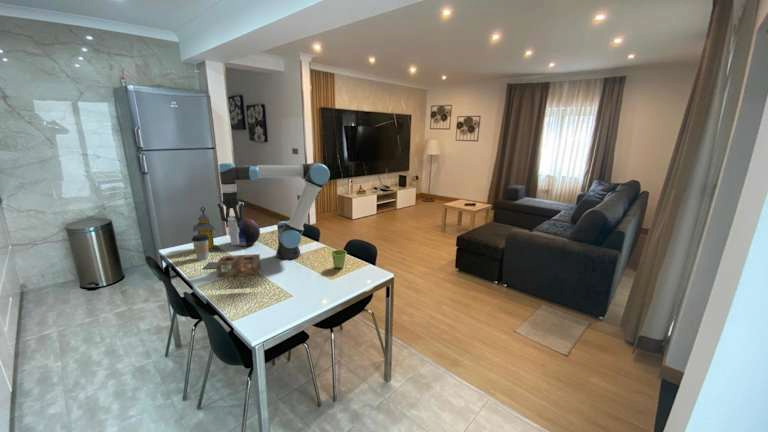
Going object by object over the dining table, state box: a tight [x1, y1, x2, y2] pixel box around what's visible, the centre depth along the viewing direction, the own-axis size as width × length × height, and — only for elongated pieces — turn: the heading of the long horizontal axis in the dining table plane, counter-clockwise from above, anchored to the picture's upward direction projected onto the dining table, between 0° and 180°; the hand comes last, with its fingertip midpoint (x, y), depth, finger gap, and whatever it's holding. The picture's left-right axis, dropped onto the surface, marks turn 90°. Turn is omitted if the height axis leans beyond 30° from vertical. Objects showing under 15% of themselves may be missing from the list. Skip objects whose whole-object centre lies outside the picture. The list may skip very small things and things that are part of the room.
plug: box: [228, 215, 239, 246], centre depth 172 cm, size 4×4×16 cm
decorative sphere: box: [228, 217, 261, 247], centre depth 216 cm, size 19×20×20 cm
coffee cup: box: [191, 234, 209, 262], centre depth 190 cm, size 9×9×15 cm
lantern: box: [192, 206, 220, 255], centre depth 204 cm, size 14×14×30 cm
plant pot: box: [330, 249, 348, 268], centre depth 184 cm, size 9×9×9 cm
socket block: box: [215, 253, 262, 278], centre depth 172 cm, size 20×12×8 cm, turn 101°
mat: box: [202, 261, 218, 270], centre depth 181 cm, size 10×10×1 cm
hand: (234, 232), depth 172 cm, fingers closed on plug, 3 cm apart
